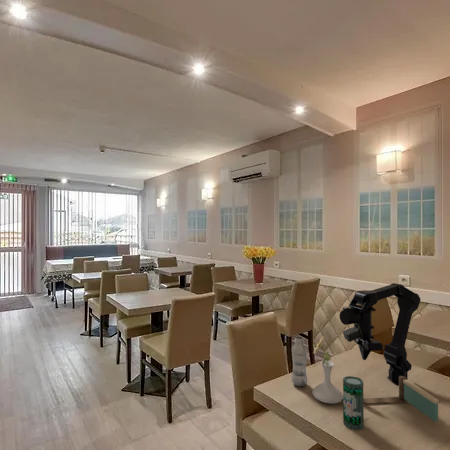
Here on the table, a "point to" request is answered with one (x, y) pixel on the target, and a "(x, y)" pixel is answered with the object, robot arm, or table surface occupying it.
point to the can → (353, 403)
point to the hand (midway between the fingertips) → (364, 359)
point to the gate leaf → (421, 400)
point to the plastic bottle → (299, 362)
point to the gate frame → (388, 399)
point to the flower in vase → (326, 381)
